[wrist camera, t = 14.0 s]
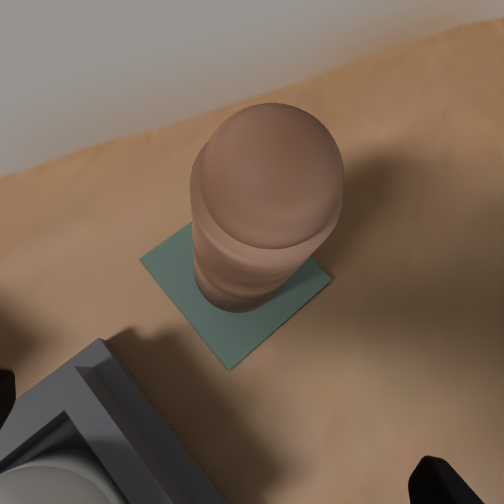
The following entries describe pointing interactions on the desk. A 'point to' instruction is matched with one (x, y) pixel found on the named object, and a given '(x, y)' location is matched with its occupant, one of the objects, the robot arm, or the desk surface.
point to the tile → (219, 321)
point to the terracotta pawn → (261, 202)
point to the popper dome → (60, 480)
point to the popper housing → (106, 430)
